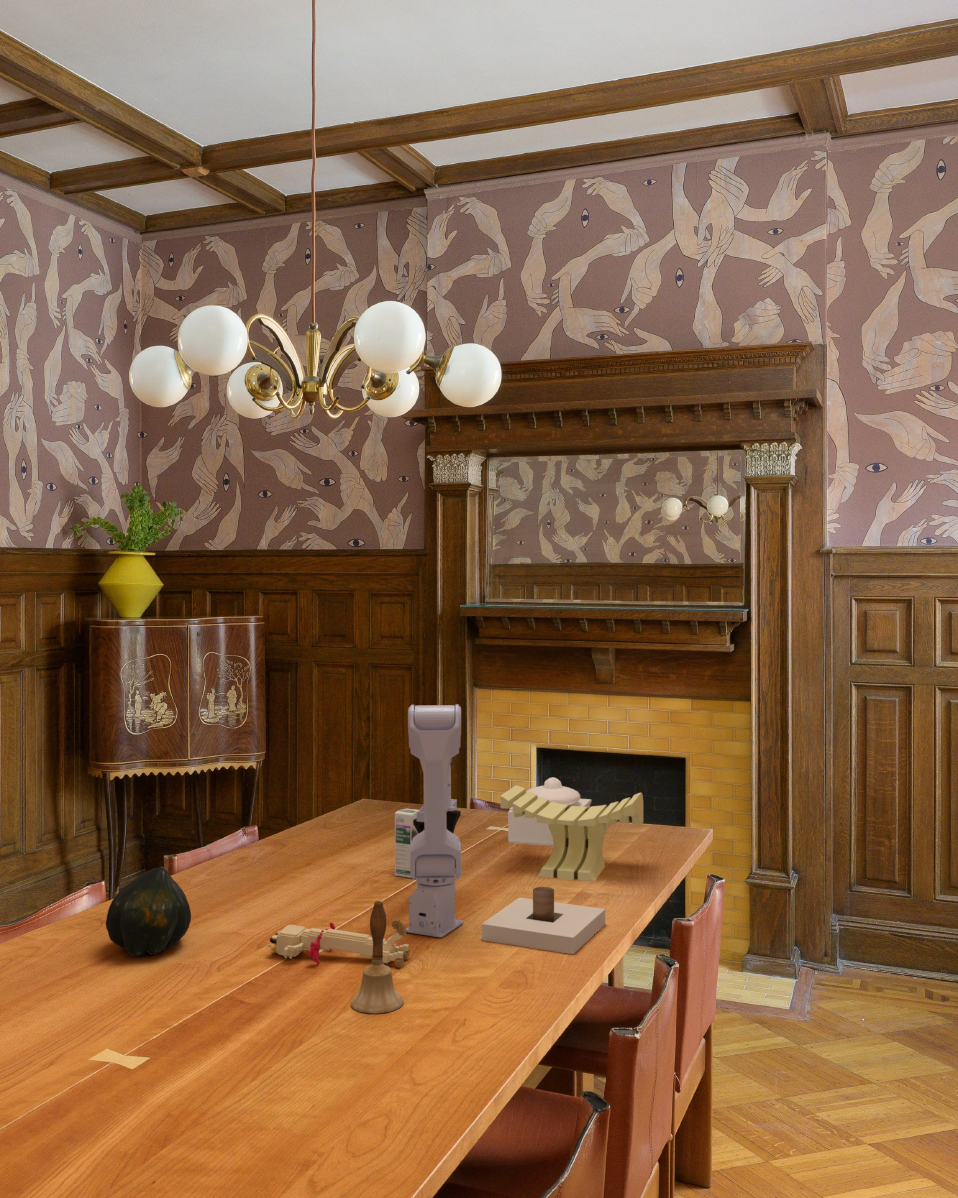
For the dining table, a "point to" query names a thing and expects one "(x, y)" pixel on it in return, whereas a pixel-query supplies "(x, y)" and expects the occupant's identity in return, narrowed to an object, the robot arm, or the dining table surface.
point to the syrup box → (404, 840)
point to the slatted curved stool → (574, 830)
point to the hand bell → (377, 973)
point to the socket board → (544, 926)
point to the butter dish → (528, 828)
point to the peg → (543, 904)
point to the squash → (149, 914)
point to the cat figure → (337, 942)
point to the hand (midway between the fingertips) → (437, 849)
